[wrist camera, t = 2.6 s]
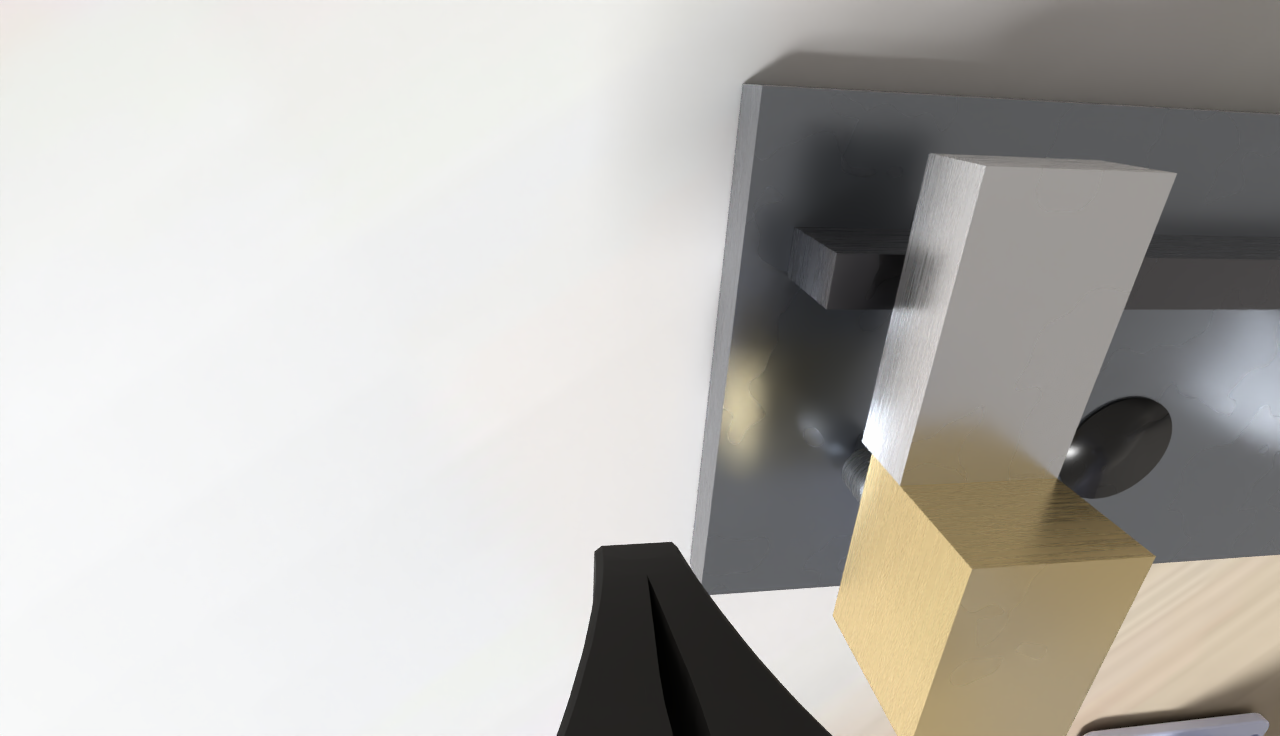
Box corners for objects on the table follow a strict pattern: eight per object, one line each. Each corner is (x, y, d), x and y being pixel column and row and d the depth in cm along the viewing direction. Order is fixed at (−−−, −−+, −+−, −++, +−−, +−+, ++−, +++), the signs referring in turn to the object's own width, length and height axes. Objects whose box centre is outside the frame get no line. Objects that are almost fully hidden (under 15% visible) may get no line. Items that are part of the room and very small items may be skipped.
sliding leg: (905, 533, 16) (1065, 735, 11) (791, 539, 16) (907, 754, 11) (1015, 146, 12) (1335, 199, 7) (868, 139, 12) (1103, 191, 7)
